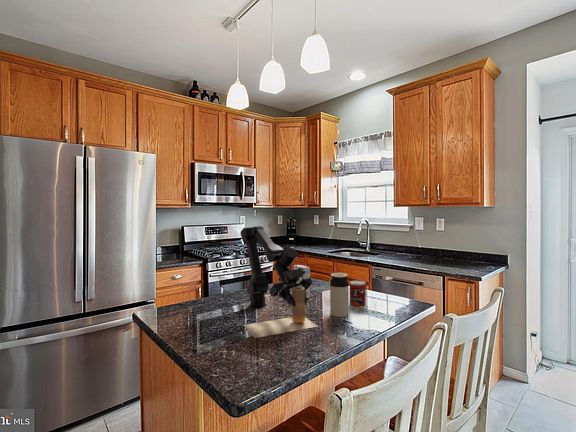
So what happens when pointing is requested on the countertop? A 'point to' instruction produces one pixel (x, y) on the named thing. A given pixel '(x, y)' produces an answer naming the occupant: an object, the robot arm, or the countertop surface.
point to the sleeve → (298, 304)
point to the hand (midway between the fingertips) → (300, 304)
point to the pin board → (277, 327)
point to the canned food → (358, 293)
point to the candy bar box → (306, 275)
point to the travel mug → (339, 295)
